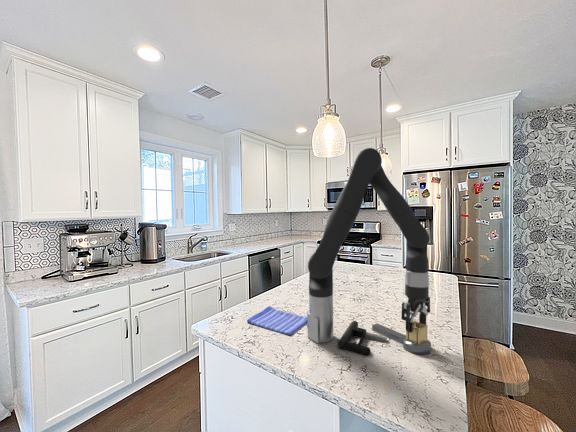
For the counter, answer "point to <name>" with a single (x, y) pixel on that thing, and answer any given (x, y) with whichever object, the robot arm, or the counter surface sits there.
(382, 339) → the door handle
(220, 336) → the counter surface
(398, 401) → the counter surface
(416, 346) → the ratchet
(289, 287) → the counter surface
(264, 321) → the dish towel
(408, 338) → the brass cube frame
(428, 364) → the counter surface
